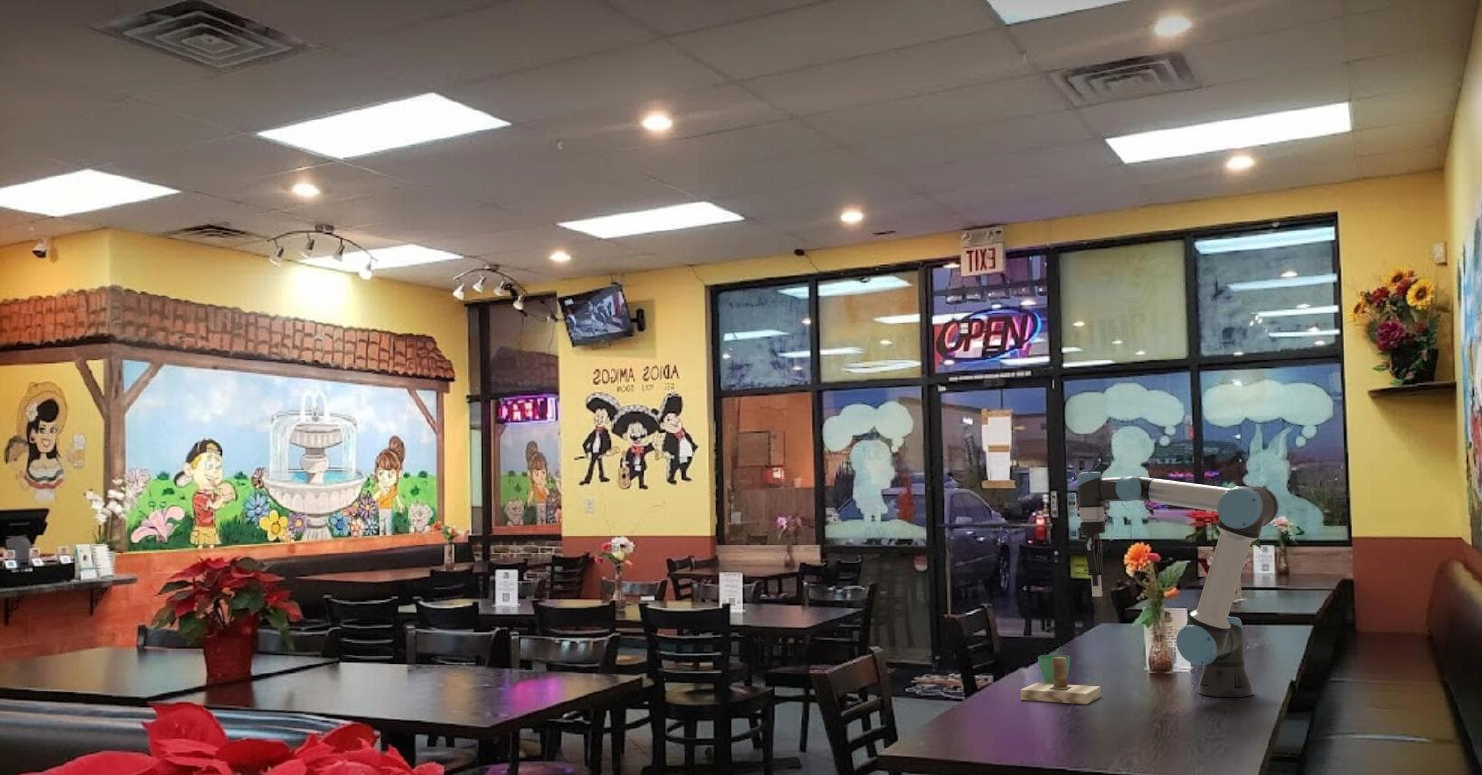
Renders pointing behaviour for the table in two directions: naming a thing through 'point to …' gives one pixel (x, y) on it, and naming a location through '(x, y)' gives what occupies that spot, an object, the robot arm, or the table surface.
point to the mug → (1050, 666)
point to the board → (1061, 693)
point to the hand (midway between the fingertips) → (1097, 596)
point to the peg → (1059, 673)
